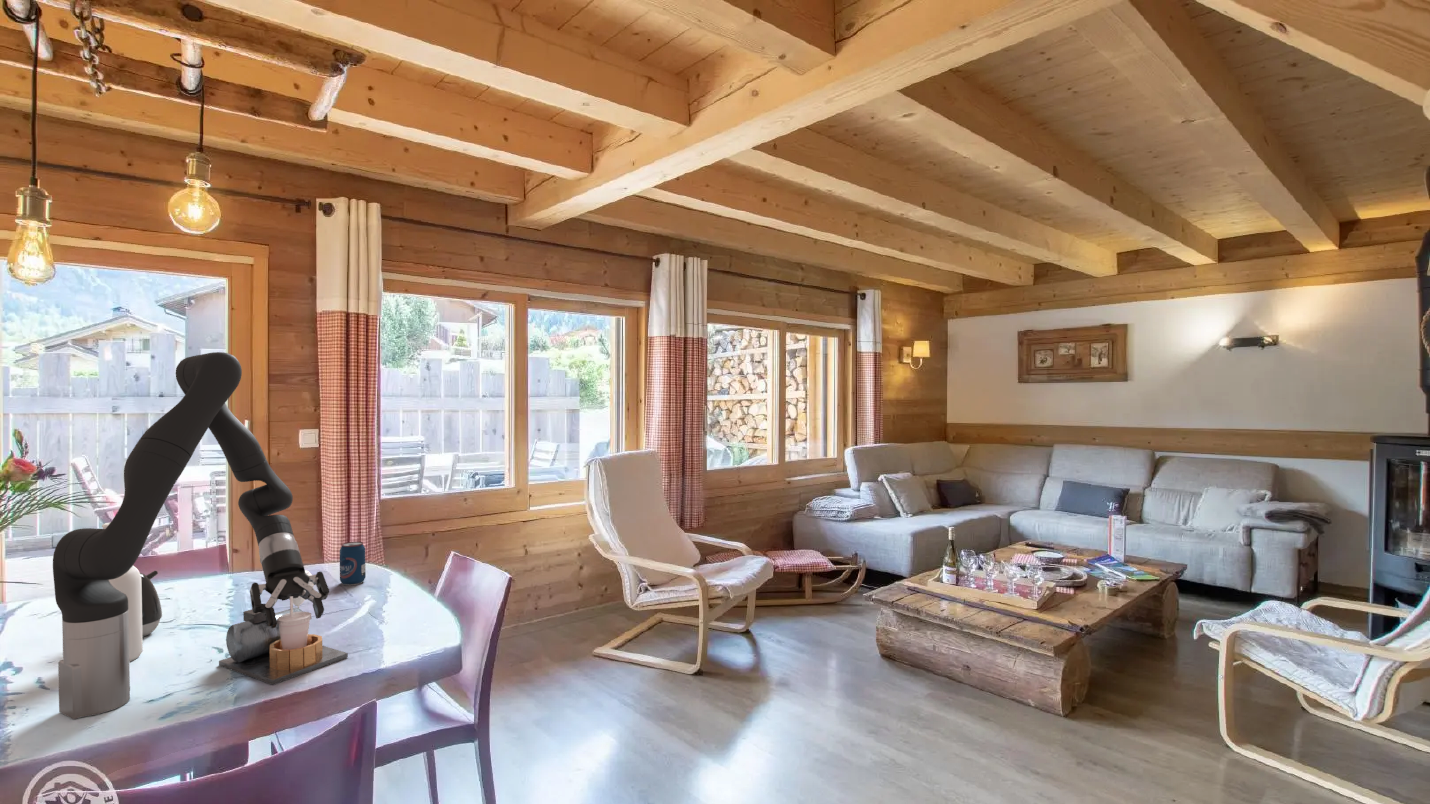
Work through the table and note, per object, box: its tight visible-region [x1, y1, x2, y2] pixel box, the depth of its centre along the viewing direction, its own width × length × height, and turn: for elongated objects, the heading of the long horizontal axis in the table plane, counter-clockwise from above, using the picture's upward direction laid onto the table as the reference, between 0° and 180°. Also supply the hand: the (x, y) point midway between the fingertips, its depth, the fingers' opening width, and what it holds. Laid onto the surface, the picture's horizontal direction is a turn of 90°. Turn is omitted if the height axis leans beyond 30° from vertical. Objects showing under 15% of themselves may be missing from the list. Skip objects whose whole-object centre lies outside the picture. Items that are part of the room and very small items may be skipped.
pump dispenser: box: [140, 570, 163, 638], centre depth 166 cm, size 10×10×15 cm
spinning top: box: [288, 570, 315, 609], centre depth 186 cm, size 8×8×12 cm
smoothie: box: [277, 596, 312, 649], centre depth 149 cm, size 6×6×14 cm
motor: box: [218, 607, 349, 686], centre depth 151 cm, size 16×20×11 cm
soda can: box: [339, 541, 366, 586], centre depth 211 cm, size 7×7×12 cm
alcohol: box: [101, 521, 144, 663], centre depth 152 cm, size 9×9×30 cm
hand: (297, 621), depth 148 cm, fingers open, 8 cm apart
